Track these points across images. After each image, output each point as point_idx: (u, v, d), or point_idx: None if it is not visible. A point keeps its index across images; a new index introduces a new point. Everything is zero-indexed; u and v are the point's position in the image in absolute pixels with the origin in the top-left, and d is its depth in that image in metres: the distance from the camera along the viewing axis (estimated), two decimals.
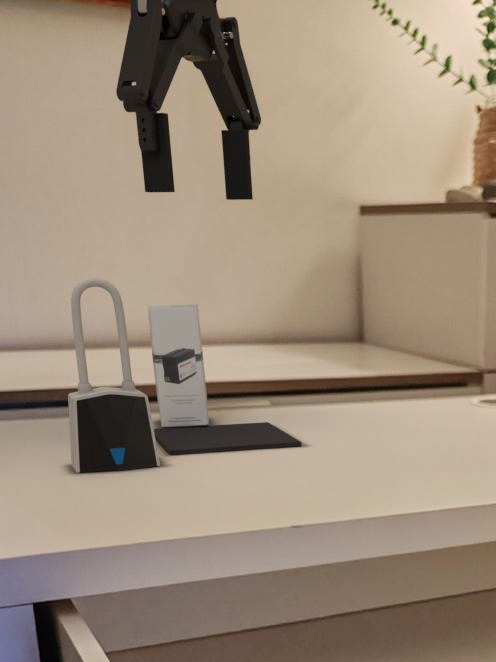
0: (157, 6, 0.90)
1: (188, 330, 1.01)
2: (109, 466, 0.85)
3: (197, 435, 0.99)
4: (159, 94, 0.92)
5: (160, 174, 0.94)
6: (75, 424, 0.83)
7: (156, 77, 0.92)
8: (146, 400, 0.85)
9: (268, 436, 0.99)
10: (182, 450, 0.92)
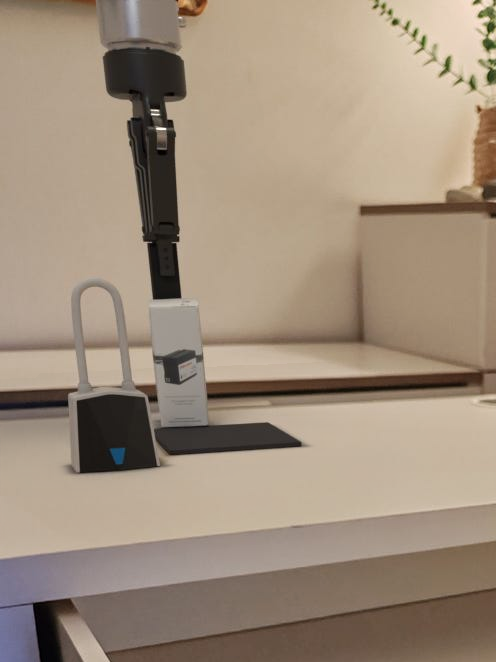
0: None
1: (189, 331, 1.00)
2: (109, 466, 0.85)
3: (197, 435, 0.99)
4: None
5: (172, 295, 1.06)
6: (75, 424, 0.83)
7: None
8: (146, 400, 0.85)
9: (268, 436, 0.99)
10: (182, 450, 0.92)
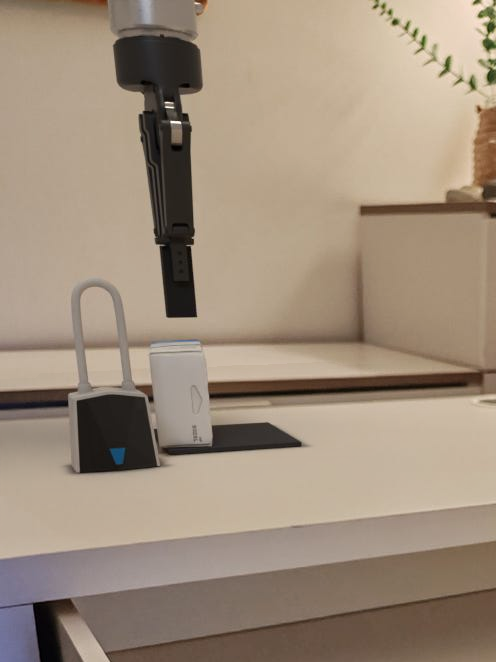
0: None
1: None
2: (109, 466, 0.85)
3: None
4: None
5: (186, 301, 0.99)
6: (75, 424, 0.83)
7: None
8: (146, 400, 0.85)
9: (268, 436, 0.99)
10: (182, 450, 0.92)
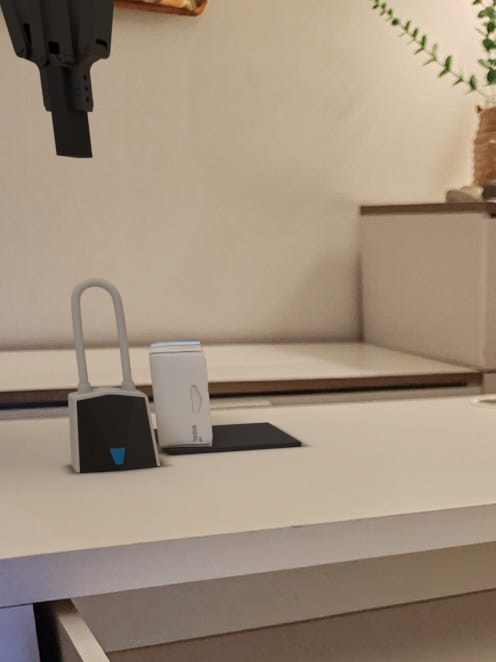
0: None
1: None
2: (109, 466, 0.85)
3: None
4: None
5: (83, 137, 0.86)
6: (75, 424, 0.83)
7: None
8: (146, 400, 0.85)
9: (268, 436, 0.99)
10: (182, 450, 0.92)
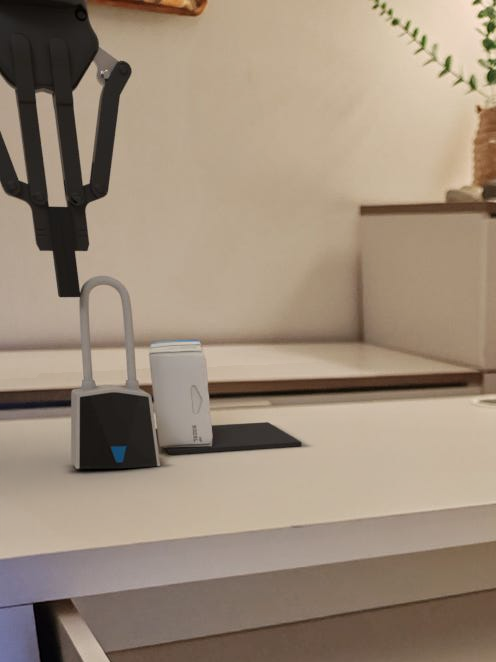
0: None
1: None
2: (109, 463, 0.85)
3: None
4: None
5: None
6: (77, 420, 0.83)
7: None
8: (149, 400, 0.85)
9: (268, 436, 0.99)
10: (182, 450, 0.92)
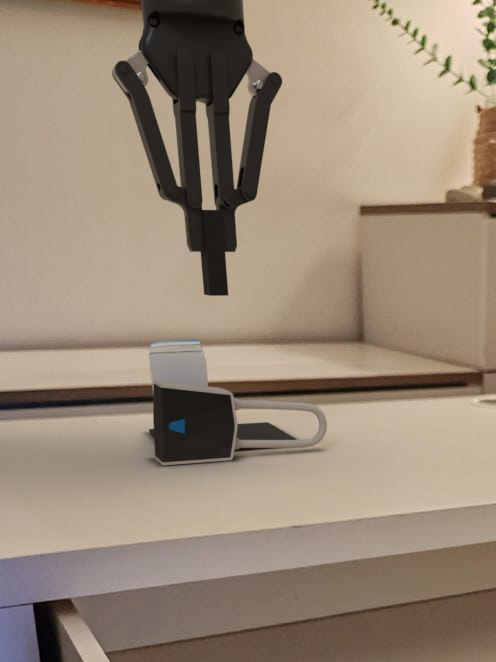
0: None
1: None
2: (167, 416, 0.86)
3: None
4: None
5: None
6: (208, 390, 0.87)
7: None
8: (227, 458, 0.89)
9: (268, 436, 0.99)
10: None
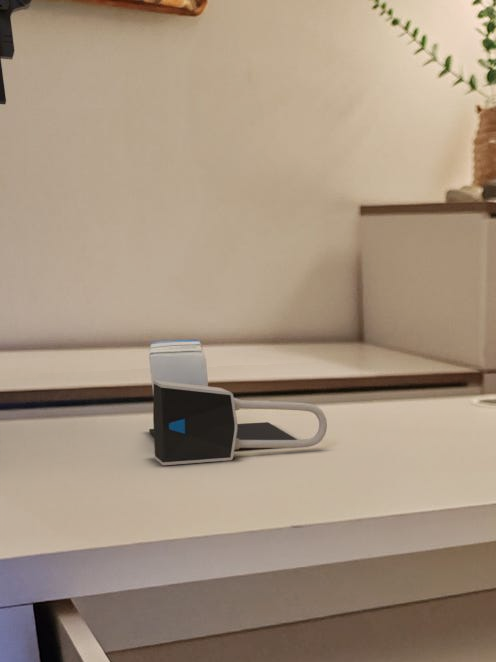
0: None
1: None
2: (167, 416, 0.86)
3: None
4: None
5: None
6: (208, 390, 0.87)
7: None
8: (227, 458, 0.89)
9: (268, 436, 0.99)
10: None
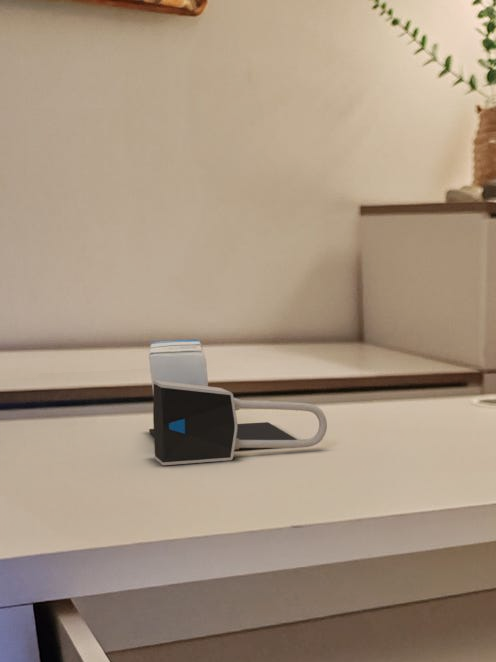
0: None
1: None
2: (167, 416, 0.86)
3: None
4: None
5: None
6: (208, 390, 0.87)
7: None
8: (227, 458, 0.89)
9: (268, 436, 0.99)
10: None
